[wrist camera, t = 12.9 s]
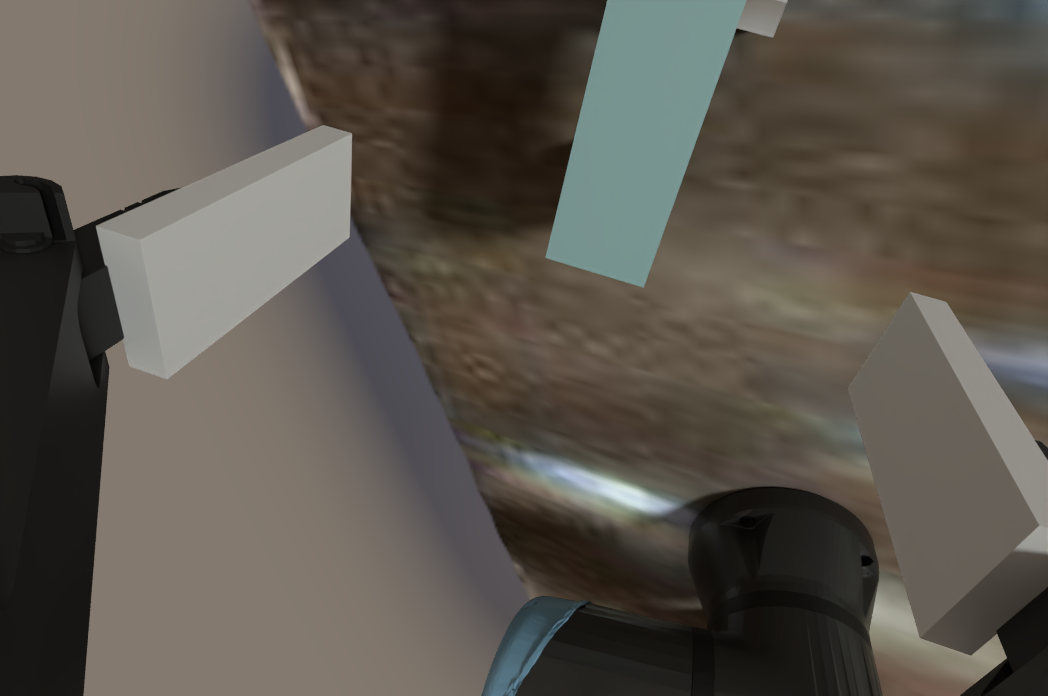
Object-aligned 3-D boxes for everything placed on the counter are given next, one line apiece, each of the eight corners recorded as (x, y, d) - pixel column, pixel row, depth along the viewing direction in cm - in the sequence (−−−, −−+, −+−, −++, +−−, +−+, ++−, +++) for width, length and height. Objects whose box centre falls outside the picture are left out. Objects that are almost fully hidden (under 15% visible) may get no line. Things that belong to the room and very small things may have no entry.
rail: (663, 197, 40) (643, 287, 30) (590, 176, 41) (545, 257, 30) (766, -100, 31) (789, -120, 20) (669, -122, 31) (644, -154, 21)
